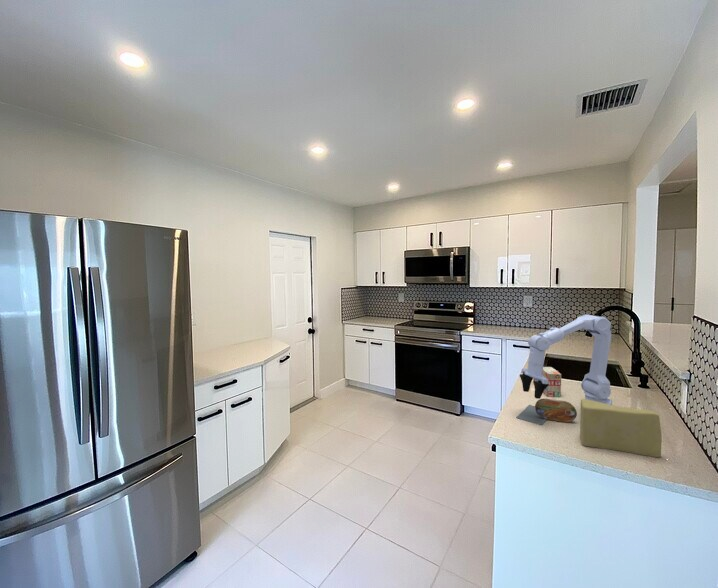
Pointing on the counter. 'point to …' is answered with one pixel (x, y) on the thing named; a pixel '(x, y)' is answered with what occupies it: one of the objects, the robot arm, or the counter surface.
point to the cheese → (620, 428)
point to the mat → (531, 415)
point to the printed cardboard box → (552, 382)
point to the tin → (555, 410)
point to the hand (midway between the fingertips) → (531, 394)
